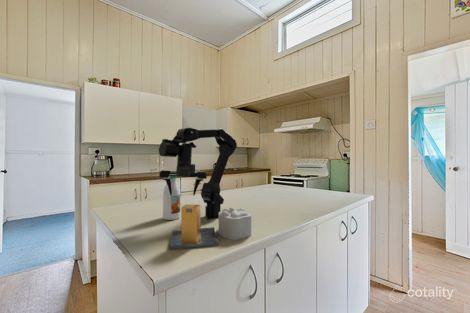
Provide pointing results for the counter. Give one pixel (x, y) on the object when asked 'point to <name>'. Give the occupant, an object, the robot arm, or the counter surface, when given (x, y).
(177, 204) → the milk bottle
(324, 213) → the counter surface
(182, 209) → the block
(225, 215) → the lumpy-topped squat cylinder
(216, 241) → the dark grey tray
